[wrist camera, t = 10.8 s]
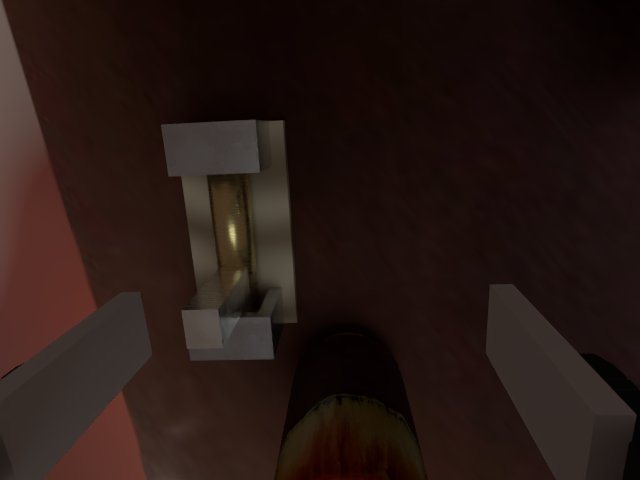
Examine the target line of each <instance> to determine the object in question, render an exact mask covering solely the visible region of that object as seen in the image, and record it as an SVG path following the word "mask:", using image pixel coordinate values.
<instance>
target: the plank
mask: <svg viewBox="0 0 640 480" xmlns="http://www.w3.org/2000/svg"><path fill="white" fill-rule="evenodd" d="M269 133H270V146H271V158H272V166H271V167H269V168H267V169H266V170H264V171H262V172H259V173H248V181H249V192H250V202H251V213H252V223H253V234H254V244H255V255H256V265H257V276H258V287H259V297H260V308H261V305H262V303H263V301H264V299H265V297H266V294H267V292H268V290H269V288H270V287H282V298H283V311H284V323H297V320H298V307H297V293H296V278H295V264H294V249H293V235H292V220H291V206H290V191H289V177H288V162H287V148H286V133H285V121H284V120H281V121H269ZM181 177H182V184H183V192H184V199H185V206H186V213H187V221H188V228H189V235H190V242H191V250H192V257H193V264H194V271H195V279H196V286H197V292H198V291H199V290H200V289H201V288H202V286H203V285H204V284H205V283H206V282H207V281H208V280H209V279H210V277H211V276H212V275H213V274H214V273H215V272H216V271H217V269H218V268H217V260H216V252H215V244H214V235H213V227H212V219H211V211H210V203H209V194H208V186H207V178H206V175H192V176H181Z"/></svg>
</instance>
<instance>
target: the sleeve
mask: <svg viewBox="0 0 640 480" xmlns="http://www.w3.org/2000/svg"><path fill="white" fill-rule="evenodd" d="M161 128H162V135H163V141H164V148H165V155H166V162H167V169H168V176H192V175H214V174H236V173H259V172H262V171H264V170H266V169H267V168H269V167H271V166H272V158H271V146H270V133H269V121H263V120H239V121H220V122H201V123H182V124H163V125H161Z"/></svg>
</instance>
